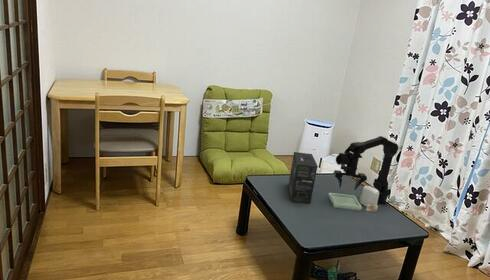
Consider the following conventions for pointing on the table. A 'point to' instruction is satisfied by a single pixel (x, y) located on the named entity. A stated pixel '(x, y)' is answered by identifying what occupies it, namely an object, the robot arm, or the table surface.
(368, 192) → the photo printer
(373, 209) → the holder
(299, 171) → the headset box
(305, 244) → the table surface
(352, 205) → the tray
